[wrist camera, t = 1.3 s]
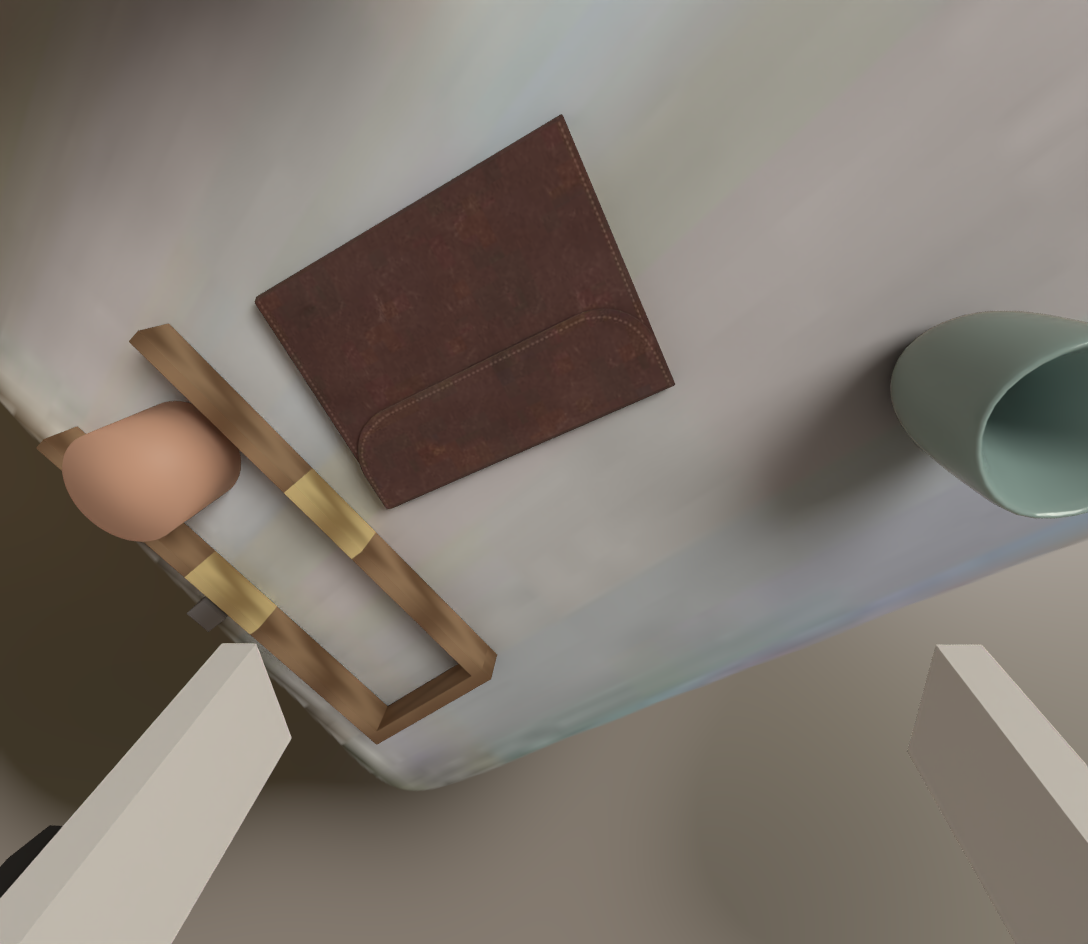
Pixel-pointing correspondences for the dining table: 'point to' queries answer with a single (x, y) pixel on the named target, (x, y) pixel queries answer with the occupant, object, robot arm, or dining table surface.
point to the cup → (1002, 407)
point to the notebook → (472, 322)
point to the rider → (150, 470)
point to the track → (336, 520)
